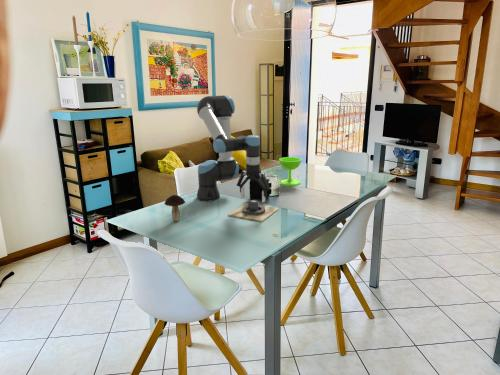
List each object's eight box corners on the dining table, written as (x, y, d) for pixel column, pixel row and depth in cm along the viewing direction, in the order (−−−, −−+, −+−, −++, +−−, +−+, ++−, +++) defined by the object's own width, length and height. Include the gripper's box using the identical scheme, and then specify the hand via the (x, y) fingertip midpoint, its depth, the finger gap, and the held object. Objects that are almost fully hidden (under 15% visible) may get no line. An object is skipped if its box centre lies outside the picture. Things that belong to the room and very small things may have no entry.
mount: (227, 215, 203) (227, 212, 202) (246, 204, 221) (246, 200, 221) (262, 222, 193) (262, 218, 192) (279, 209, 211) (279, 205, 210)
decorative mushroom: (177, 216, 204) (175, 191, 199) (190, 220, 197) (188, 194, 193) (162, 222, 195) (159, 195, 191) (175, 226, 189) (172, 199, 184)
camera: (270, 201, 226) (270, 170, 220) (249, 200, 228) (248, 169, 223) (272, 196, 235) (272, 166, 229) (252, 195, 238) (251, 166, 232)
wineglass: (301, 185, 258) (302, 161, 253) (279, 186, 258) (279, 161, 253) (299, 180, 273) (299, 156, 268) (278, 180, 273) (278, 157, 268)
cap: (246, 212, 205) (246, 202, 203) (251, 209, 210) (251, 199, 209) (255, 213, 202) (255, 203, 201) (260, 210, 208) (260, 200, 206)
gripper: (230, 162, 201) (231, 198, 208) (270, 167, 190) (270, 205, 196) (237, 159, 207) (237, 194, 214) (276, 164, 196) (275, 201, 203)
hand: (253, 199), depth 205 cm, fingers open, 13 cm apart
